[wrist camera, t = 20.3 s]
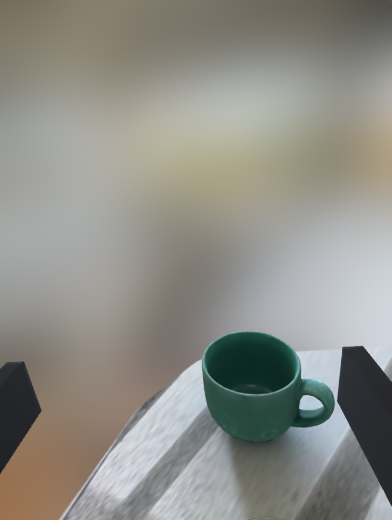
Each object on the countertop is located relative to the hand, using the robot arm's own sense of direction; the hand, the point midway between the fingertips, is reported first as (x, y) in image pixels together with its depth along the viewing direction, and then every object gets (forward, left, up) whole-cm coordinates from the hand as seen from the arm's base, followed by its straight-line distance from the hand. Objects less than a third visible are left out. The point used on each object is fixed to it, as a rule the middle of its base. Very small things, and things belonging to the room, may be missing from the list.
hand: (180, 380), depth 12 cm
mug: (+5, -21, -26) cm, 34 cm away
